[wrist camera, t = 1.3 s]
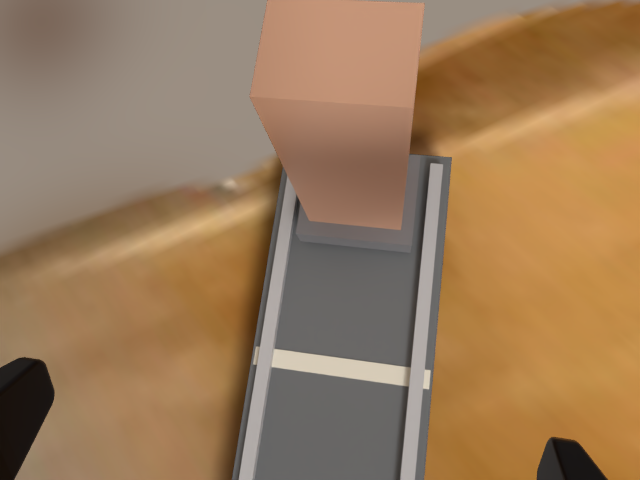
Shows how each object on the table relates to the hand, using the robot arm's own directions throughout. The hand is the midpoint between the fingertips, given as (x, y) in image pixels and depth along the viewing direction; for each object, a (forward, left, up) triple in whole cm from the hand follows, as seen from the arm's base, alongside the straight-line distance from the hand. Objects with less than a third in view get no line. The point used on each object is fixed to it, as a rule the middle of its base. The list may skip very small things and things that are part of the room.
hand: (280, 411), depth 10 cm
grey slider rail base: (0, 0, -13) cm, 14 cm away
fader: (+7, +3, -11) cm, 13 cm away
